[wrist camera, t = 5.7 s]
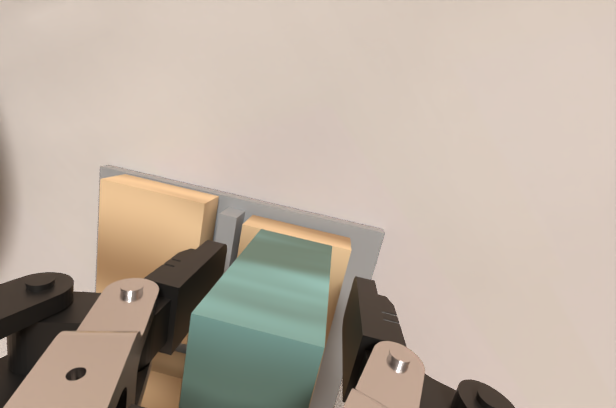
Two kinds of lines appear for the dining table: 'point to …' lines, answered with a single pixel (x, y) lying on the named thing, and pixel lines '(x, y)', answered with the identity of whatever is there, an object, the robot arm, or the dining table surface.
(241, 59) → the dining table surface
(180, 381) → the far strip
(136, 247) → the light wood block
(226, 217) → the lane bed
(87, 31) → the dining table surface
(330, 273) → the strip
